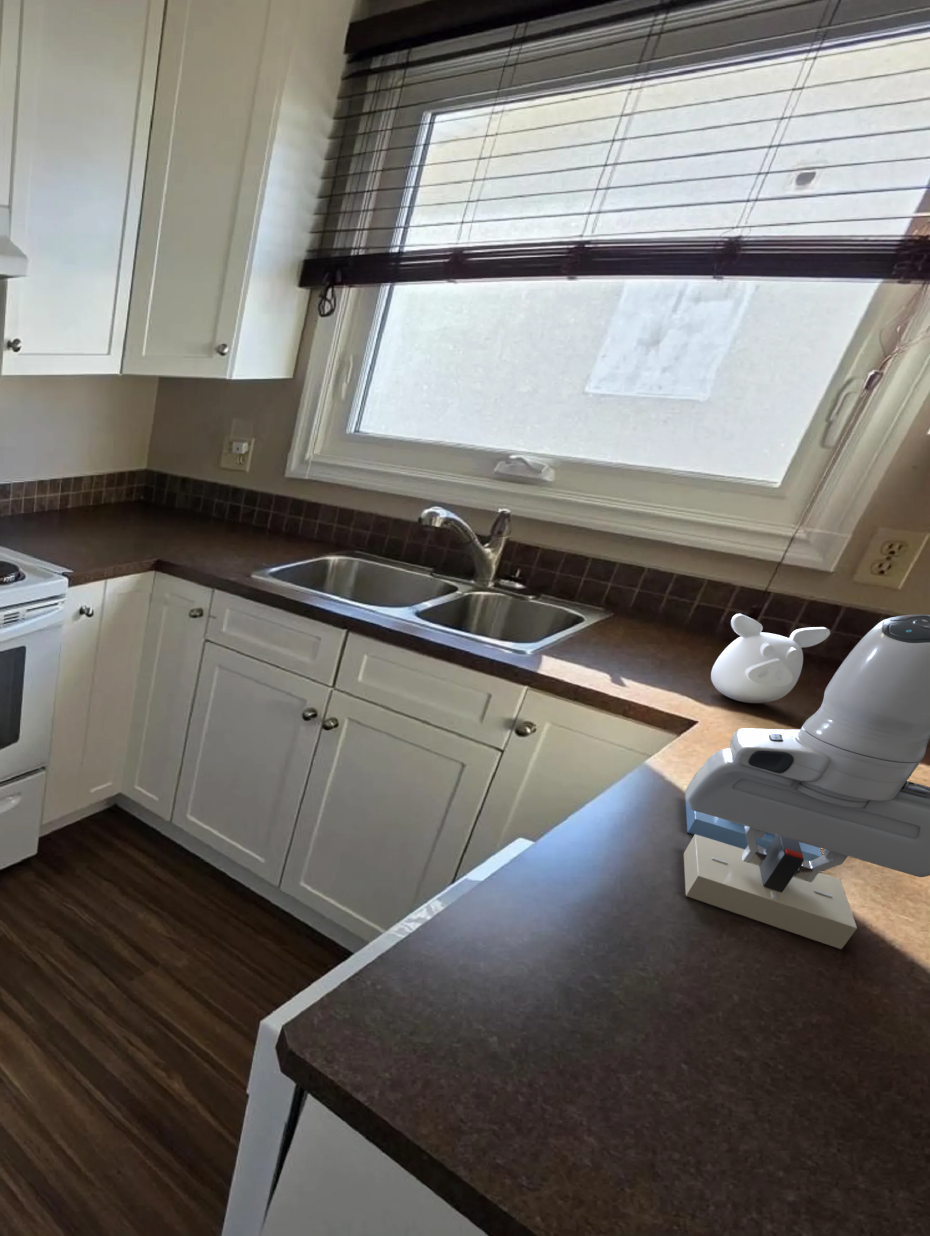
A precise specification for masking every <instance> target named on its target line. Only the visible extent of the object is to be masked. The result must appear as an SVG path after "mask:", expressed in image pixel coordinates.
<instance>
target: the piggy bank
mask: <svg viewBox="0 0 930 1236" xmlns="http://www.w3.org/2000/svg"><path fill="white" fill-rule="evenodd" d="M730 626H731V629H732V630H733V632H734V633H736V634H737V635H738V636H739V637H737V638H736V639H734V640H733V641H732V642H730V644H728V645H727V646H726V647H725V648H724V650H723V651H722V652H721V653H720V654H719V656H718V657H717V659H716V660H715V662H714V664H713V665H712V668H711V672H710V680H711V683H712V685H713V686H714V688H715V689H716V690H717V691H718V692H719V693H721V694H722V695H724V696H725V697H727V698H729V699H730V700H731V699H732V700H733V701H734V700H735V701H737V702H740V703H741V702H742V703H747V704H765V703H766V704H767V703H771V702H775V701H777V700H780V699H782V698H784V697H785V696H787V695H788V694H789V693H790V692H791V691H792V690H793V689H794V687H795V686H796V685H797V684H798V683H797V682H798V681H799V678H800V677H801V673H802V670H803V664H804V652H803V649H802V648H810V647H814V646H816V645H818V644H820V643H822V642H824V641H826V640H827V639H828V638H829V637H830V635H831V630H830V629H829V628H828V627H825V626H816V627H815V626H813V627H802V628H798V629H795V630H793V631H792V632H791V633H790V635H789V637H787V636H783V635H780V634H776V633H770V632H764V631H763V629H764V627H763V625H762V623H761V622H759V621H757V620H756V619H754V618H751V617H749V616H747V615H745V614H742V613H736V614H734V615H733V616H732V617H731V620H730ZM762 631H763V632H762Z"/></svg>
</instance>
